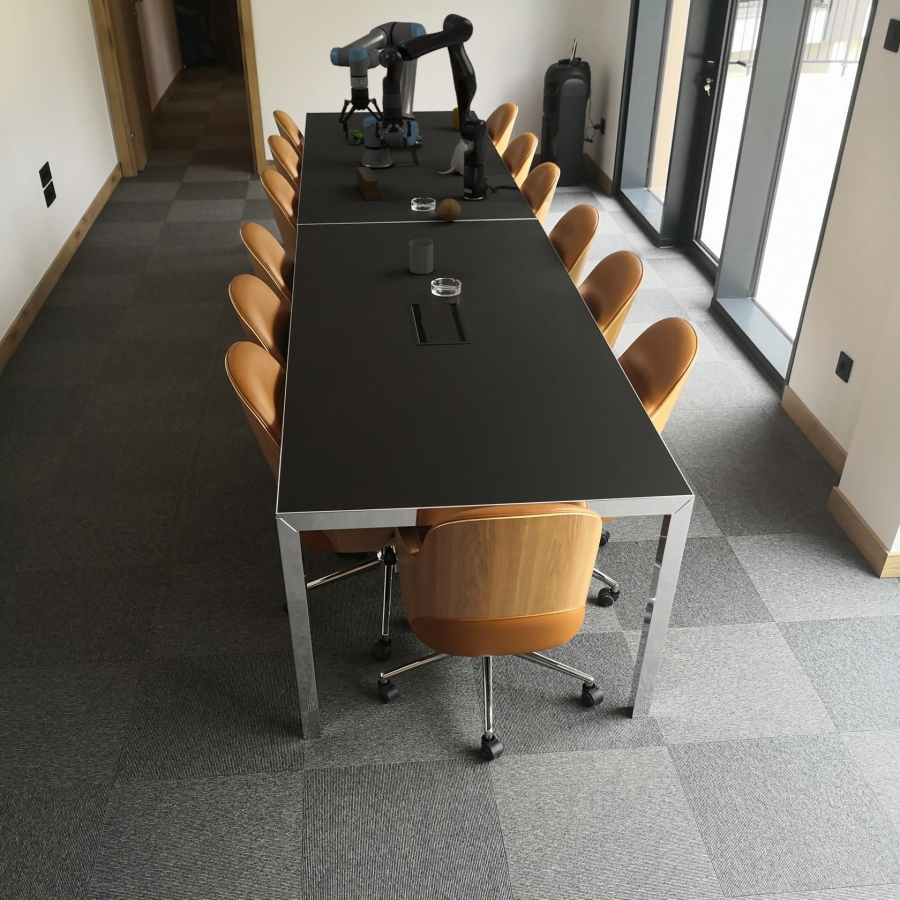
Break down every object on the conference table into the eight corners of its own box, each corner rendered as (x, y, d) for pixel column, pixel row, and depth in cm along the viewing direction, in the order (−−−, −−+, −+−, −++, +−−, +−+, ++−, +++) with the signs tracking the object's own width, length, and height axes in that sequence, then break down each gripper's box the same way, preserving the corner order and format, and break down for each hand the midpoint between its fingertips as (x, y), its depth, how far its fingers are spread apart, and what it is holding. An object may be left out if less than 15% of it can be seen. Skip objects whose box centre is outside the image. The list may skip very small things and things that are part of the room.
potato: (459, 214, 362) (459, 195, 357) (462, 225, 350) (462, 205, 346) (436, 214, 361) (436, 195, 357) (438, 225, 349) (438, 205, 345)
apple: (471, 132, 486) (471, 108, 479) (451, 132, 486) (451, 108, 479) (470, 128, 495) (471, 104, 488) (452, 128, 495) (452, 104, 488)
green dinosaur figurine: (399, 126, 467) (343, 124, 465) (399, 141, 460) (342, 139, 458) (399, 136, 472) (343, 133, 470) (399, 151, 465) (342, 149, 463)
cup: (409, 265, 311) (408, 238, 306) (432, 265, 312) (431, 238, 307) (410, 274, 304) (409, 246, 299) (433, 273, 305) (433, 246, 299)
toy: (478, 172, 417) (478, 139, 409) (444, 182, 402) (444, 148, 394) (464, 168, 422) (464, 136, 414) (430, 178, 407) (430, 145, 399)
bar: (357, 185, 398) (356, 167, 393) (369, 185, 399) (368, 166, 394) (366, 200, 378) (365, 181, 374) (378, 199, 380) (377, 180, 375)
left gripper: (331, 90, 366) (335, 142, 378) (389, 87, 372) (391, 138, 383) (329, 86, 372) (333, 138, 384) (386, 84, 378) (388, 134, 389)
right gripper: (375, 107, 331) (376, 151, 340) (411, 106, 333) (412, 149, 342) (372, 103, 337) (374, 146, 346) (409, 102, 340) (410, 145, 348)
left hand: (362, 138), depth 383 cm, fingers open, 13 cm apart
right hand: (393, 148), depth 344 cm, fingers open, 8 cm apart
